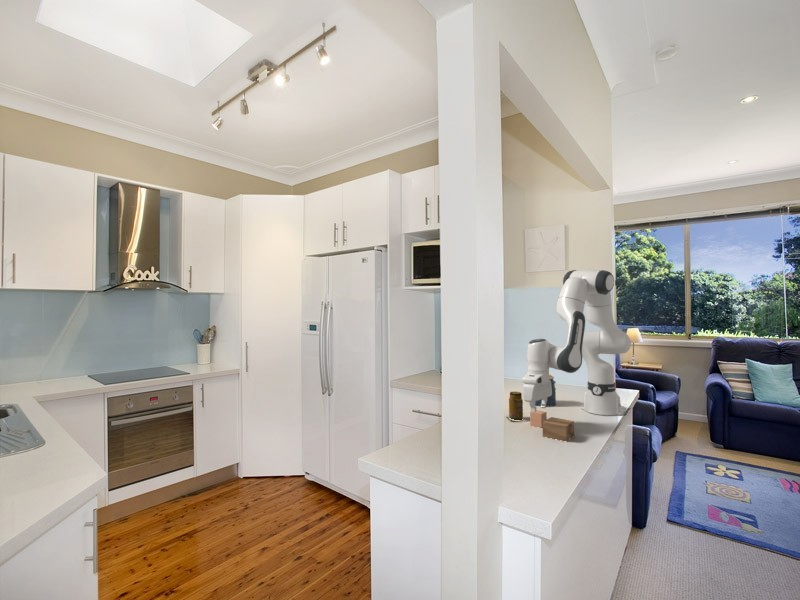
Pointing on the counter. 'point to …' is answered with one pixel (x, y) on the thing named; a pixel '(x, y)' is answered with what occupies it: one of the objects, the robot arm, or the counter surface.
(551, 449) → the counter surface
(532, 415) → the terracotta cube
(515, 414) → the condiment
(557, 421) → the walnut box
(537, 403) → the canister
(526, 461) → the counter surface
